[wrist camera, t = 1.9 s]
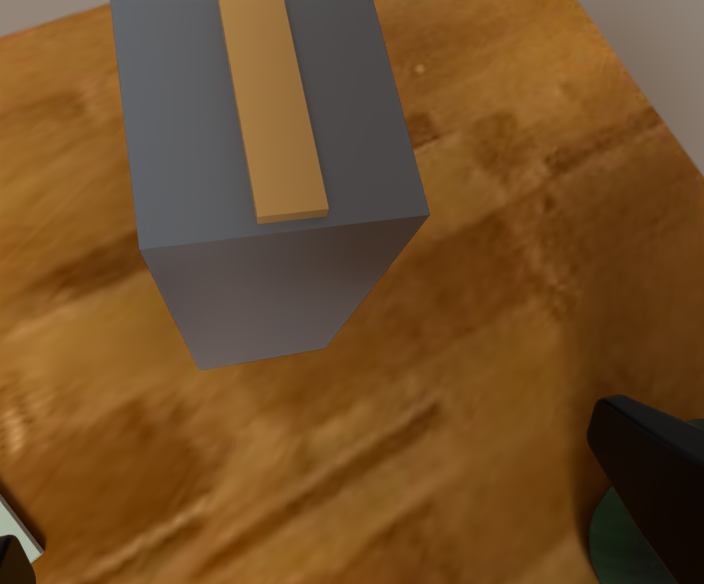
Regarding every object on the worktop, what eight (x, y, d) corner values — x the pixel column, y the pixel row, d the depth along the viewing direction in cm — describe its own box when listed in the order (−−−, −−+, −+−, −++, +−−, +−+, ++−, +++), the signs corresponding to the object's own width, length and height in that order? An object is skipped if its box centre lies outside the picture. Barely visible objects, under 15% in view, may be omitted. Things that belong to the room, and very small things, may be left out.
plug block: (324, 348, 22) (435, 207, 9) (199, 370, 21) (136, 242, 8) (302, 235, 23) (374, -22, 11) (182, 250, 22) (104, -20, 9)
